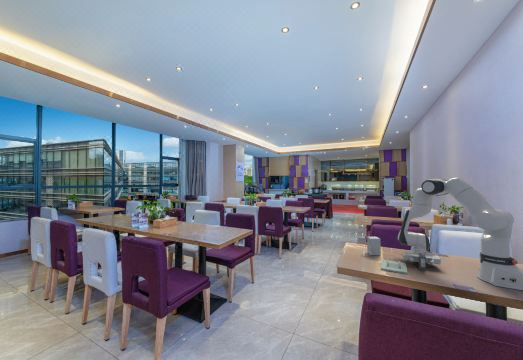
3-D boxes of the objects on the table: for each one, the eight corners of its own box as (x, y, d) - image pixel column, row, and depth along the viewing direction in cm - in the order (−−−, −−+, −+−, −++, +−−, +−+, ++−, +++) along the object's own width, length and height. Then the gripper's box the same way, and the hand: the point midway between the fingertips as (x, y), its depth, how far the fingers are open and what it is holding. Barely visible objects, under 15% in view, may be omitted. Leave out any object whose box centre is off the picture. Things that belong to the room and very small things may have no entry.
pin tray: (381, 261, 154) (381, 256, 154) (405, 264, 147) (405, 259, 147) (380, 269, 139) (380, 264, 139) (407, 274, 132) (407, 268, 132)
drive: (418, 267, 143) (418, 253, 143) (424, 268, 141) (424, 254, 141) (419, 270, 137) (419, 256, 137) (426, 271, 136) (425, 256, 136)
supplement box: (376, 252, 173) (376, 236, 174) (381, 255, 166) (380, 238, 166) (367, 252, 174) (366, 236, 174) (370, 255, 167) (370, 238, 167)
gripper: (401, 248, 156) (402, 254, 144) (438, 253, 146) (442, 259, 134) (401, 257, 156) (402, 263, 144) (438, 262, 146) (443, 269, 134)
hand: (422, 261), depth 139 cm, fingers open, 8 cm apart
